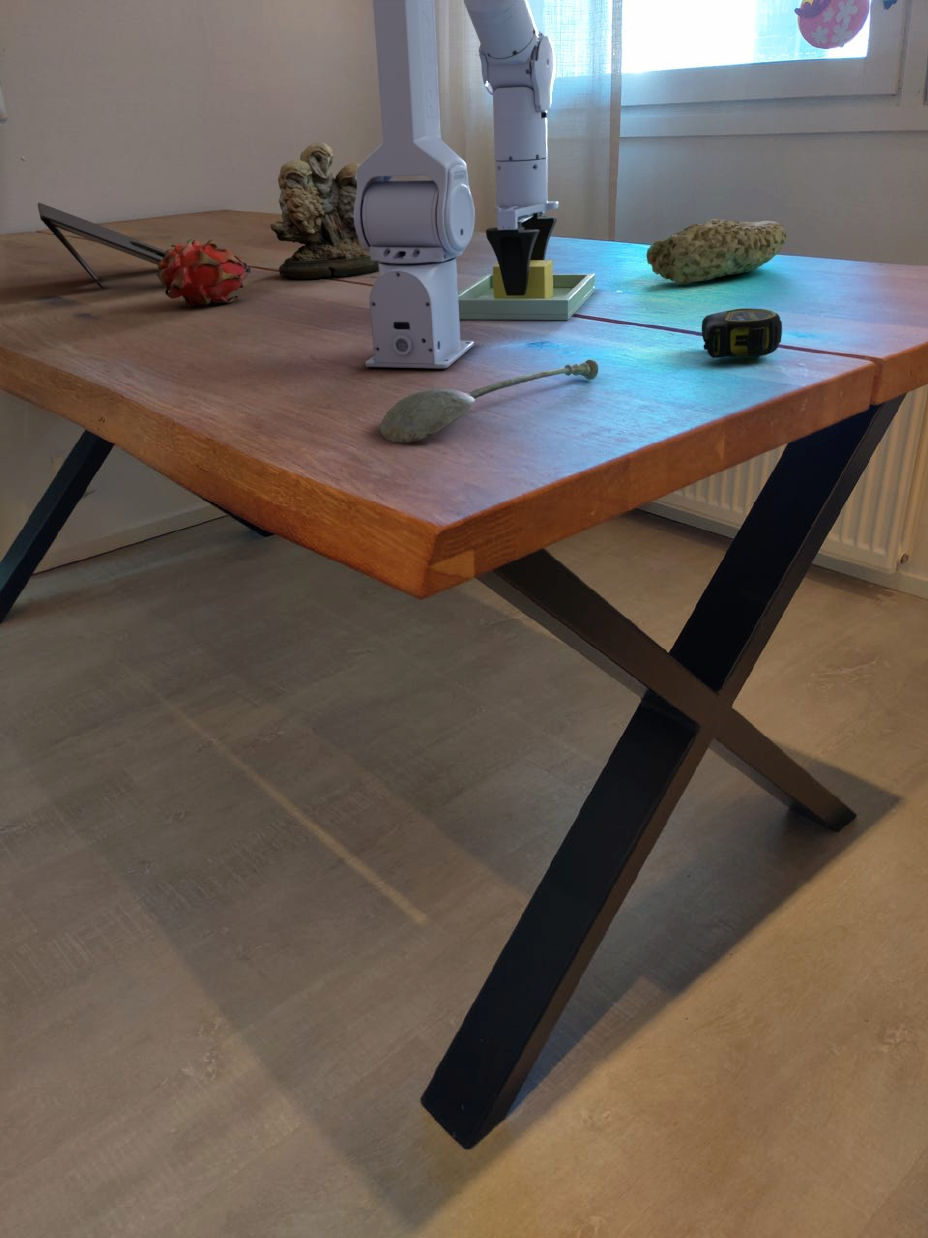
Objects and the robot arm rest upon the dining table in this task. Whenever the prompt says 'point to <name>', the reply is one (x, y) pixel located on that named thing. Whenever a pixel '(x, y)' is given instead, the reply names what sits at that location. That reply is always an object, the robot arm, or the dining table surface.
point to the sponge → (716, 250)
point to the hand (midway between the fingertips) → (523, 288)
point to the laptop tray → (95, 237)
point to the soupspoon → (453, 405)
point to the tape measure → (741, 333)
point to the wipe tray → (526, 300)
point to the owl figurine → (320, 217)
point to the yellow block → (529, 281)
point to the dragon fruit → (201, 273)
